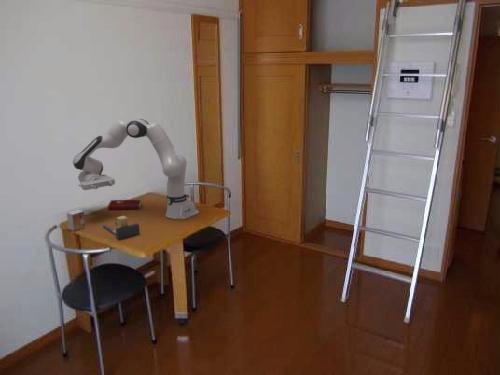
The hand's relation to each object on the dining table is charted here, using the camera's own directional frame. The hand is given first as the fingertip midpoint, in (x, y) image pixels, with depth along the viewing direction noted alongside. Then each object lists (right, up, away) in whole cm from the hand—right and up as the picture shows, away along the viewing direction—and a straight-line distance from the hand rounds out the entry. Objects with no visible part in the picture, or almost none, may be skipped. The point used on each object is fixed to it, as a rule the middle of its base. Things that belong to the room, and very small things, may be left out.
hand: (103, 186), depth 256 cm
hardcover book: (+3, -15, +36) cm, 39 cm away
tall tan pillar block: (+14, -28, -7) cm, 32 cm away
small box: (-16, -26, -2) cm, 30 cm away
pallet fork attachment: (+11, -27, -4) cm, 29 cm away
